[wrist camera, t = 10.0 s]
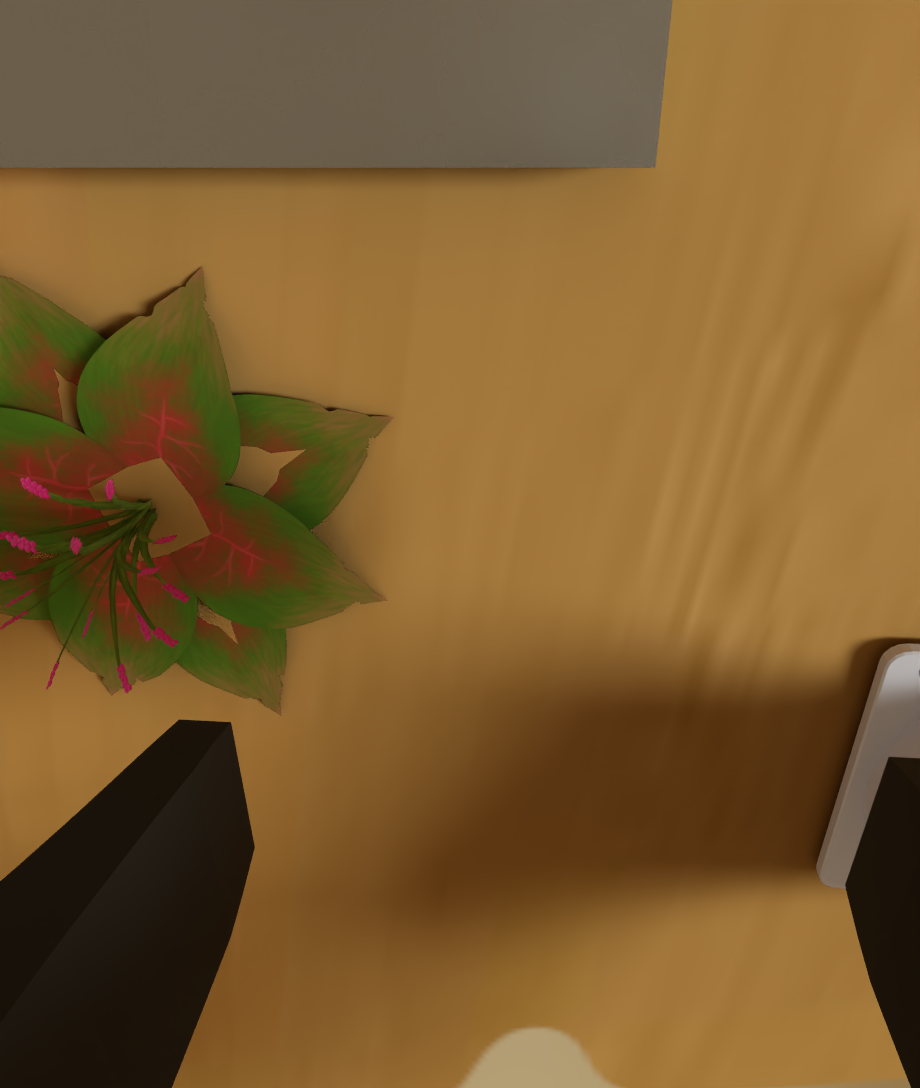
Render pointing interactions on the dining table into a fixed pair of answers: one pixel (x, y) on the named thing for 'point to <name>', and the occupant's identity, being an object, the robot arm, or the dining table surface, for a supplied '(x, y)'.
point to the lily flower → (199, 464)
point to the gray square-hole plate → (331, 83)
